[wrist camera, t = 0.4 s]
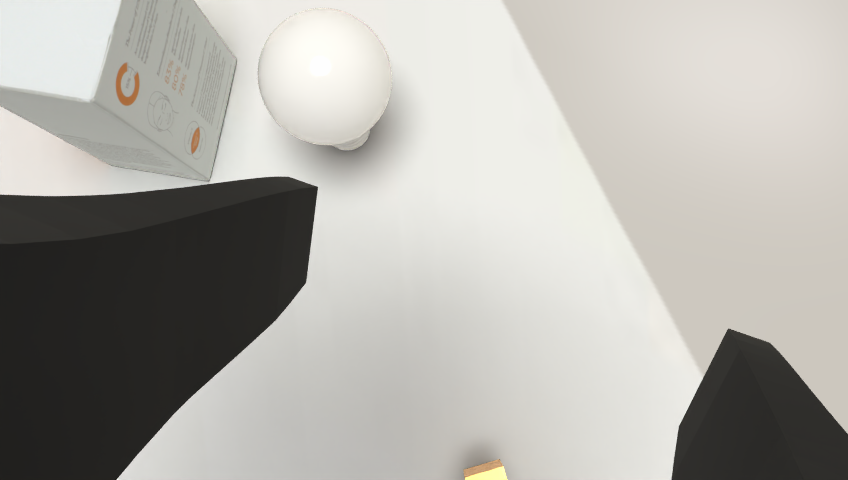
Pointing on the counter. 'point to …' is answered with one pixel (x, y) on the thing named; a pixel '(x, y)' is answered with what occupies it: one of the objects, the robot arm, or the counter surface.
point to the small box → (119, 79)
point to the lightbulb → (325, 77)
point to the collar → (486, 471)
